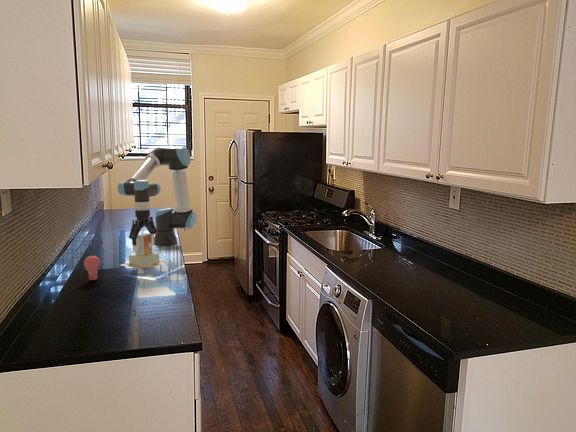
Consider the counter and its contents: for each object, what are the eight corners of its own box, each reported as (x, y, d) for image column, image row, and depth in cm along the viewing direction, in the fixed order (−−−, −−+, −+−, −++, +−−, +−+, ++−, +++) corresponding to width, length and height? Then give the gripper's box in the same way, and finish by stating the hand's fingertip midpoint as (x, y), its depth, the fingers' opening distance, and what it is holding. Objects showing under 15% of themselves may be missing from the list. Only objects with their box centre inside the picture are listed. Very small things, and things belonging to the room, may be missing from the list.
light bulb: (94, 277, 213) (93, 253, 211) (104, 279, 210) (103, 255, 208) (81, 281, 207) (80, 256, 205) (91, 283, 204) (90, 258, 202)
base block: (141, 259, 243) (140, 250, 242) (159, 261, 239) (159, 252, 239) (129, 264, 234) (128, 254, 233) (148, 266, 230) (147, 256, 229)
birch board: (141, 259, 248) (141, 257, 248) (168, 262, 242) (168, 260, 242) (119, 267, 231) (119, 265, 231) (148, 270, 225) (148, 268, 225)
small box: (144, 255, 231) (143, 236, 230) (134, 255, 233) (134, 235, 231) (152, 252, 239) (151, 233, 237) (143, 251, 240) (142, 233, 239)
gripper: (151, 206, 245) (152, 243, 248) (120, 212, 222) (122, 252, 225) (162, 206, 243) (163, 244, 246) (132, 212, 219) (134, 254, 222)
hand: (143, 248), depth 235 cm, fingers open, 13 cm apart
